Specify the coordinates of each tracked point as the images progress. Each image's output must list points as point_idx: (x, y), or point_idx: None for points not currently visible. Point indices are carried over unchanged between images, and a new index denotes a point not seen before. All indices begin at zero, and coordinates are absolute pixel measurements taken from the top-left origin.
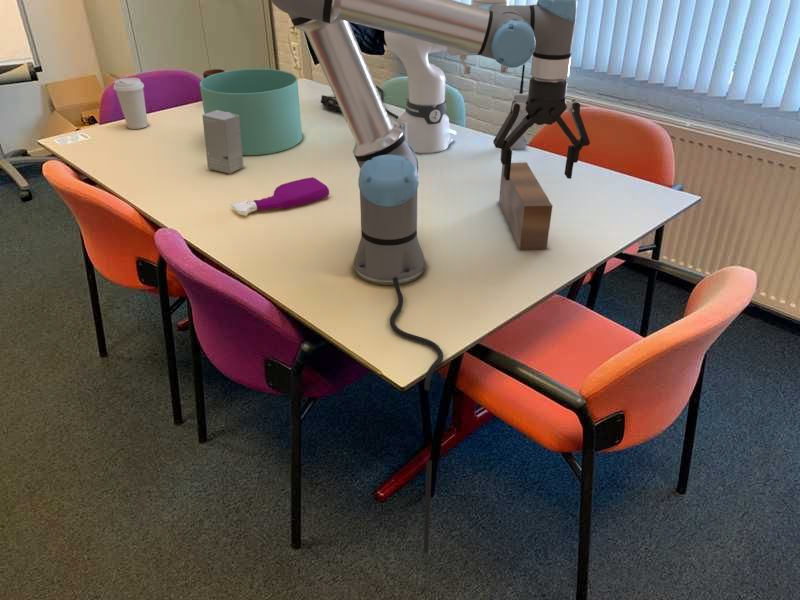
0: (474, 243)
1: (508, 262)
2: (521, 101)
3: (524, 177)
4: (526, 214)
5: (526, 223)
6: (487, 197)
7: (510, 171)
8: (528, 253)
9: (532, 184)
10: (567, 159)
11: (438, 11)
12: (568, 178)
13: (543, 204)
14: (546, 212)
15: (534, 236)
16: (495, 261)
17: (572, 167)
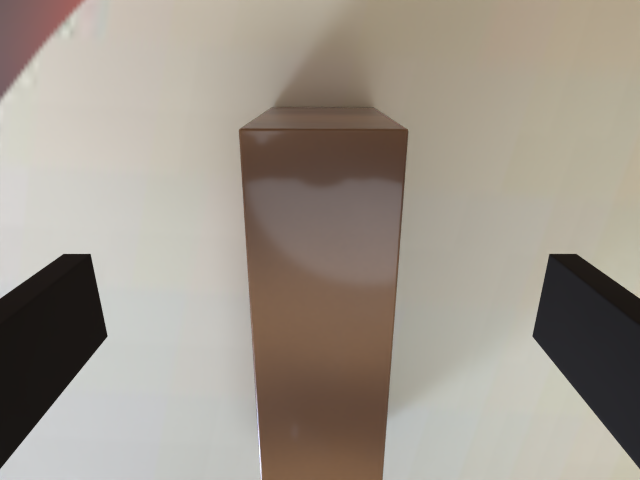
0: (527, 169)
1: (445, 4)
2: None
3: (313, 459)
4: (384, 122)
5: (372, 117)
6: (386, 468)
7: None
8: (347, 76)
9: (292, 389)
10: (26, 402)
11: None
12: (84, 254)
13: (290, 146)
14: (274, 123)
15: (324, 111)
16: (493, 16)
17: (4, 296)
